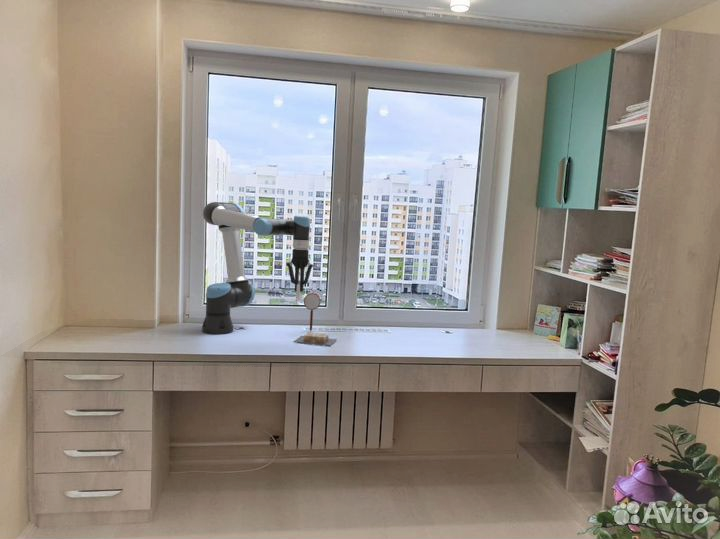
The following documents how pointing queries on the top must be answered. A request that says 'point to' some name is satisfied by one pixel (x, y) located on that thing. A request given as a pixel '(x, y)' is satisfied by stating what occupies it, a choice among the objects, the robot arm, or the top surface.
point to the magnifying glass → (312, 304)
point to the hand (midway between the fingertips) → (298, 298)
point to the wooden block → (316, 337)
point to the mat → (328, 343)
